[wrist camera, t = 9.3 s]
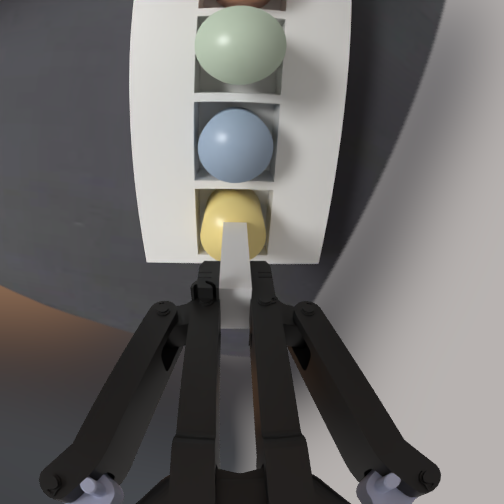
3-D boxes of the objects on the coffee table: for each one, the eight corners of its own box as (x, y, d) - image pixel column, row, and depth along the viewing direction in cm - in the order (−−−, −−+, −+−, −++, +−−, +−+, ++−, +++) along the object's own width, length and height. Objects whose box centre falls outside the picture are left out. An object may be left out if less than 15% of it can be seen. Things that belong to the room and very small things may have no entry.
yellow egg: (205, 183, 21) (198, 206, 18) (262, 184, 22) (268, 207, 18) (206, 232, 24) (201, 263, 20) (258, 233, 24) (263, 264, 20)
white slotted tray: (154, -36, 11) (142, -52, 8) (335, -29, 12) (351, -44, 9) (156, 240, 25) (147, 262, 22) (309, 241, 26) (318, 263, 23)
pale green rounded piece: (205, 24, 13) (196, 6, 9) (276, 26, 13) (288, 9, 10) (203, 85, 15) (192, 84, 12) (272, 87, 16) (283, 87, 12)
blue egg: (205, 106, 18) (197, 111, 14) (267, 108, 18) (275, 113, 15) (205, 163, 20) (198, 182, 17) (263, 164, 21) (270, 184, 17)
